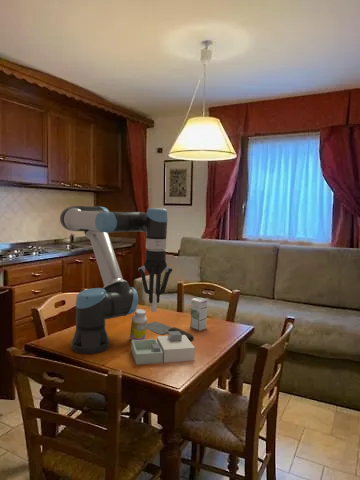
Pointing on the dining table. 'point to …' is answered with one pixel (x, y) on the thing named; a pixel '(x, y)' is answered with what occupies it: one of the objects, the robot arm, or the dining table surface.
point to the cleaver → (166, 329)
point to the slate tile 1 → (155, 348)
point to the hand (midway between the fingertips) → (153, 311)
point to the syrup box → (198, 313)
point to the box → (145, 352)
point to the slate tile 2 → (174, 336)
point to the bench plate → (176, 349)
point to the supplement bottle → (138, 325)
